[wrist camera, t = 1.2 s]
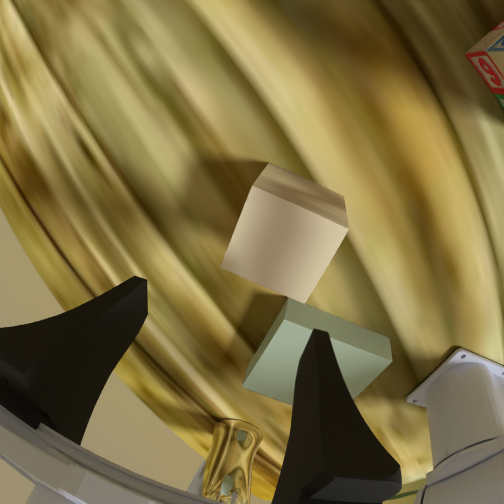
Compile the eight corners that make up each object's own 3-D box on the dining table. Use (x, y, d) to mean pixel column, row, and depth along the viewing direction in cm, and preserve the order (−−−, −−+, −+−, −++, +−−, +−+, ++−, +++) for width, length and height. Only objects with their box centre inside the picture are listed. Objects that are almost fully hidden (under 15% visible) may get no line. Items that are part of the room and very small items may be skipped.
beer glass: (201, 425, 36) (161, 525, 23) (232, 410, 33) (192, 529, 20) (243, 448, 37) (214, 544, 24) (278, 436, 34) (252, 548, 21)
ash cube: (343, 195, 19) (348, 229, 15) (309, 258, 22) (304, 303, 17) (269, 162, 19) (252, 185, 15) (242, 229, 22) (220, 267, 17)
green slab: (388, 334, 24) (392, 361, 21) (334, 393, 28) (332, 417, 26) (289, 293, 24) (284, 318, 21) (248, 362, 28) (241, 386, 26)
